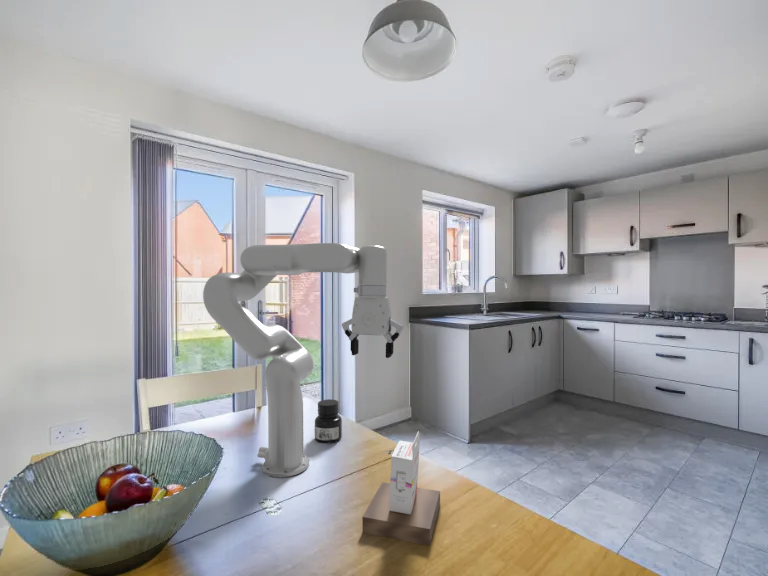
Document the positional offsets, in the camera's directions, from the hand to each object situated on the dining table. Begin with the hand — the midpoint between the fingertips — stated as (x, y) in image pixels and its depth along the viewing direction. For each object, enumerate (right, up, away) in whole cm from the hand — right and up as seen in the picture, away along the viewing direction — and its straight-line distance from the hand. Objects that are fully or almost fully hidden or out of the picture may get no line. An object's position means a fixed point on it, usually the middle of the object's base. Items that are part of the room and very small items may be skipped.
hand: (371, 355), depth 101 cm
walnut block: (+8, -33, -19) cm, 39 cm away
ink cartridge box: (+8, -29, -19) cm, 35 cm away
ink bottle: (-15, -32, +24) cm, 43 cm away
